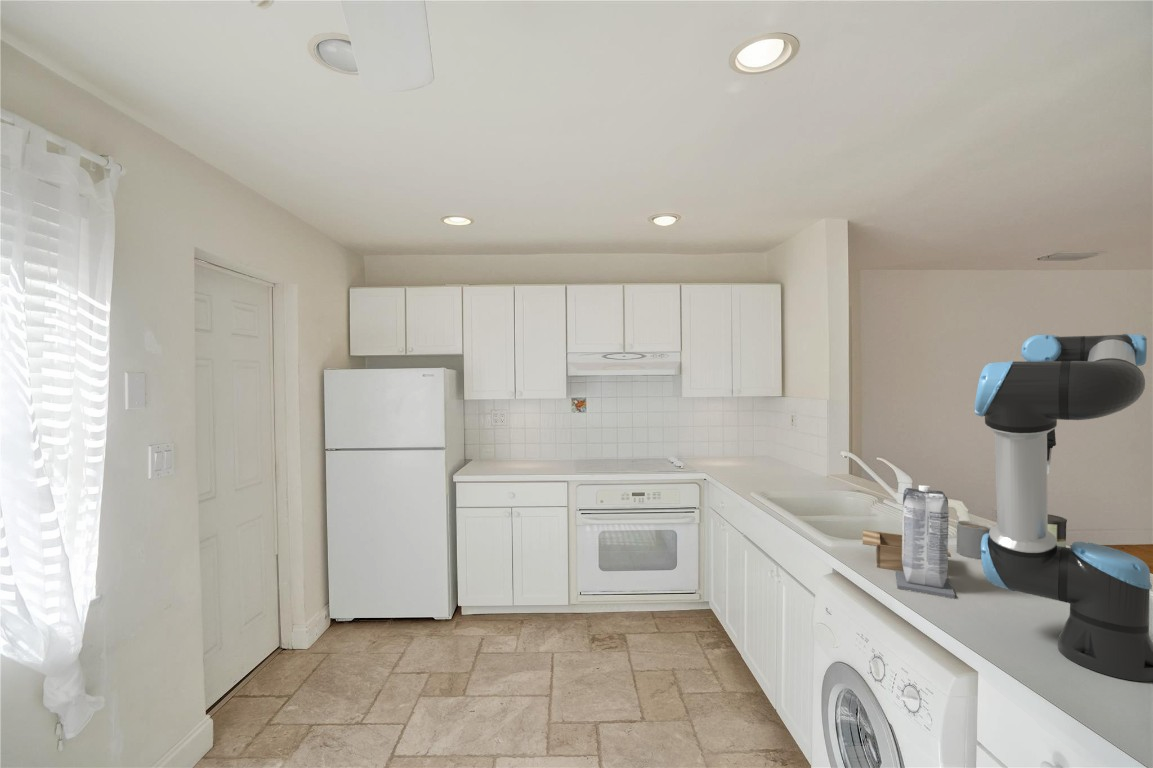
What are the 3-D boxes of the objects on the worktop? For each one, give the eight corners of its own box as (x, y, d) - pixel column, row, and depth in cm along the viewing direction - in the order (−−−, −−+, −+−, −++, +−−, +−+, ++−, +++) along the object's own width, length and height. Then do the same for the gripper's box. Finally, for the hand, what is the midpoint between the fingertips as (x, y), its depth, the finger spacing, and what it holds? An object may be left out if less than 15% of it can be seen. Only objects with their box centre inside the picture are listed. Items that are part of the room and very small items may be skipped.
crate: (950, 579, 153) (950, 555, 153) (862, 565, 164) (862, 542, 164) (943, 562, 167) (944, 540, 167) (862, 550, 178) (863, 529, 178)
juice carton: (948, 591, 142) (950, 492, 142) (902, 583, 147) (904, 487, 147) (944, 579, 150) (945, 485, 150) (900, 572, 155) (902, 482, 155)
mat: (954, 598, 140) (954, 594, 140) (897, 588, 146) (897, 585, 146) (948, 581, 151) (948, 578, 151) (895, 573, 158) (895, 569, 158)
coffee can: (1051, 555, 174) (1052, 513, 173) (1074, 567, 164) (1075, 522, 163) (1015, 553, 176) (1016, 511, 175) (1036, 564, 166) (1037, 520, 165)
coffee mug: (959, 556, 172) (959, 526, 172) (954, 547, 181) (954, 519, 181) (1011, 563, 166) (1011, 532, 166) (1003, 554, 175) (1003, 524, 175)
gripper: (1078, 391, 129) (1069, 477, 128) (1043, 397, 151) (1035, 471, 150) (1039, 388, 132) (1030, 471, 132) (1010, 394, 154) (1002, 466, 154)
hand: (1032, 471), depth 141 cm, fingers open, 13 cm apart
